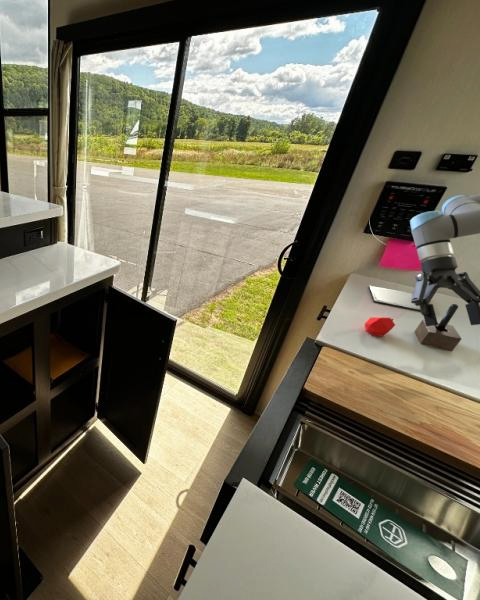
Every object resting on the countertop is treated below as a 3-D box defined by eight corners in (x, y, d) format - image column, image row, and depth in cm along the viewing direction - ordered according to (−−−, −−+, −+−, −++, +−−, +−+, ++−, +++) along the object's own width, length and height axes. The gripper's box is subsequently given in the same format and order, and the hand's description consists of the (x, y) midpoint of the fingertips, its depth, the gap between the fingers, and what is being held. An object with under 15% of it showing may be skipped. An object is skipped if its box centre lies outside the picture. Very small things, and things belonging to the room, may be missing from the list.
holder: (444, 337, 104) (453, 325, 101) (451, 351, 99) (461, 339, 96) (414, 331, 107) (422, 319, 104) (420, 344, 102) (429, 331, 99)
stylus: (434, 340, 103) (458, 303, 97) (436, 342, 102) (460, 306, 96) (428, 339, 104) (451, 302, 97) (429, 341, 103) (453, 304, 96)
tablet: (422, 296, 124) (424, 295, 124) (432, 313, 115) (434, 312, 114) (368, 286, 132) (369, 285, 131) (373, 302, 122) (374, 300, 122)
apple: (376, 326, 102) (402, 317, 101) (358, 317, 108) (383, 308, 107) (377, 343, 104) (403, 334, 103) (360, 333, 110) (384, 325, 109)
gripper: (462, 261, 104) (481, 325, 100) (386, 264, 105) (401, 327, 100) (491, 254, 97) (512, 322, 93) (408, 256, 97) (426, 324, 93)
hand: (454, 325), depth 96 cm, fingers open, 13 cm apart
